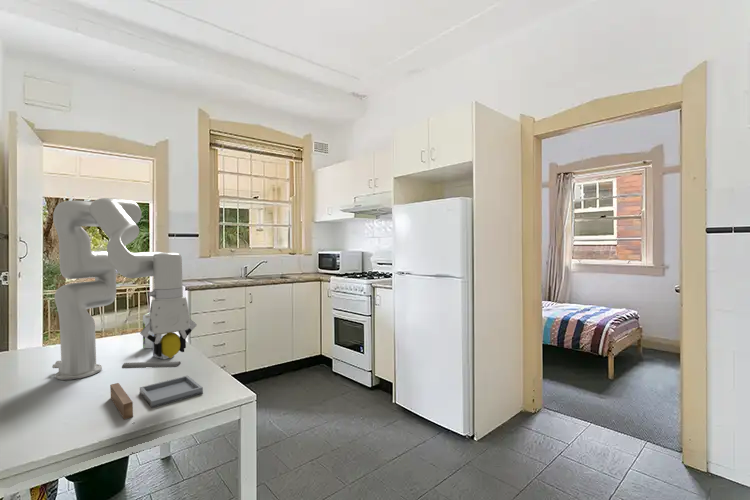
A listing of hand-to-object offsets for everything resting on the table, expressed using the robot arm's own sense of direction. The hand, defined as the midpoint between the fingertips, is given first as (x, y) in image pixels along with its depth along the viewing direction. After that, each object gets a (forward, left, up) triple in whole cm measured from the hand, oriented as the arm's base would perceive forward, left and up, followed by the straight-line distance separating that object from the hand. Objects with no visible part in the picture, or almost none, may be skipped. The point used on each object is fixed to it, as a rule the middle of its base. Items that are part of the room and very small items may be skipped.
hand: (170, 352), depth 112 cm
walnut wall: (-9, -9, -12) cm, 18 cm away
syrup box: (-37, +46, -13) cm, 60 cm away
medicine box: (-24, +33, -13) cm, 43 cm away
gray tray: (0, 0, -12) cm, 12 cm away
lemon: (0, 0, -2) cm, 2 cm away
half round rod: (-22, +23, -13) cm, 34 cm away
